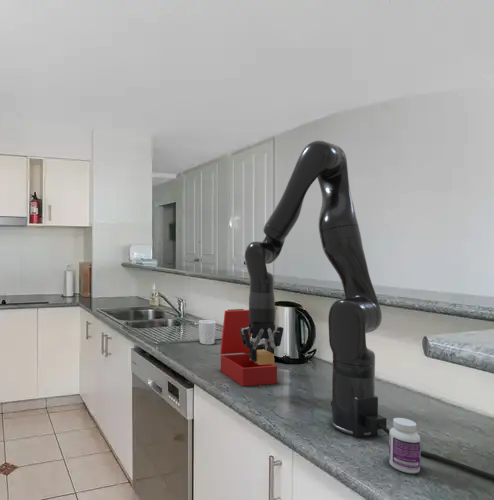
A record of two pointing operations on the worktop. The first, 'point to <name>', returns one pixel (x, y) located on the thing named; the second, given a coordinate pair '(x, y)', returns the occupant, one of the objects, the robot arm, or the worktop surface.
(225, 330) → the box lid
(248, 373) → the red open box
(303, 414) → the worktop surface
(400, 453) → the pill bottle
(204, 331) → the white cup
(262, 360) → the block
